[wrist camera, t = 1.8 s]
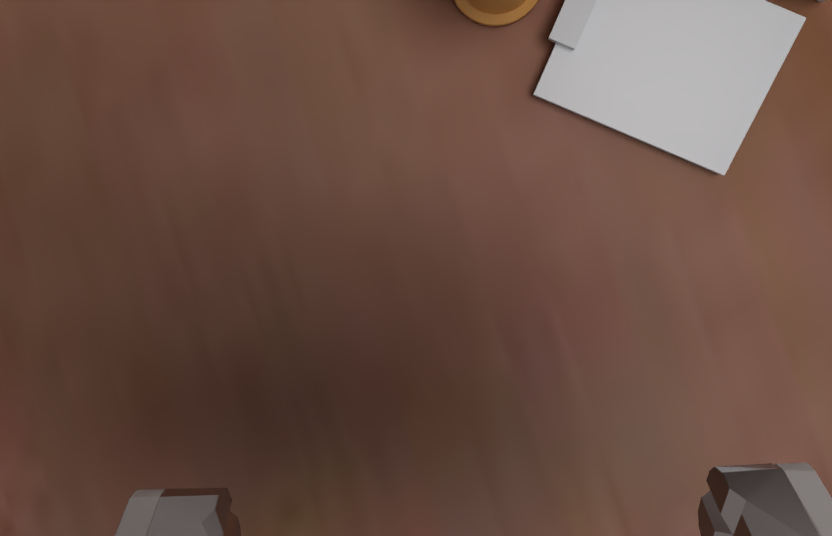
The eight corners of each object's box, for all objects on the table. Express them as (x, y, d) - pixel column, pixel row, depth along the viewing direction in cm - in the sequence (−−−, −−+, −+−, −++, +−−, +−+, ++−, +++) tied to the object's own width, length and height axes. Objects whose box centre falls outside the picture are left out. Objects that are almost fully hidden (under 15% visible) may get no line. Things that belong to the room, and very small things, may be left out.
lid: (524, 91, 31) (525, 90, 29) (592, -66, 29) (598, -75, 28) (718, 174, 30) (729, 176, 29) (797, 21, 29) (813, 15, 28)
